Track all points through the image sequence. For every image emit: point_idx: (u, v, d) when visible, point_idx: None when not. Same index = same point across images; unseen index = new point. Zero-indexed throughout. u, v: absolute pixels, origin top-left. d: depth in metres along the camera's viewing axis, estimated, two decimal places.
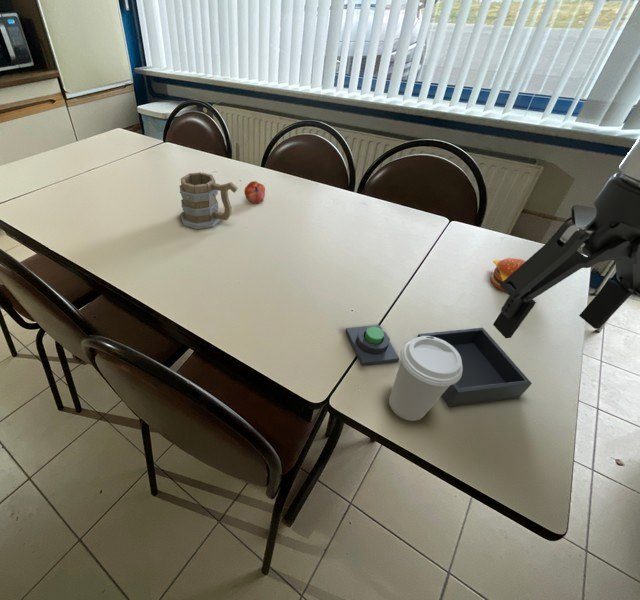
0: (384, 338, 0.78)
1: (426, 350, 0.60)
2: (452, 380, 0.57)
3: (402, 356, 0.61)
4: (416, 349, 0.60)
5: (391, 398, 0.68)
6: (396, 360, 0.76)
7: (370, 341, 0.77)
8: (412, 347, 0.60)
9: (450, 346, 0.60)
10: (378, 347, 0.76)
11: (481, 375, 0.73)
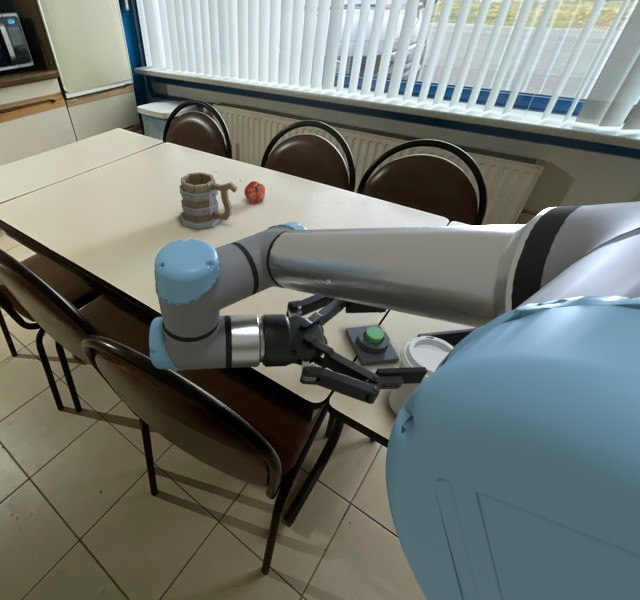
0: (384, 338, 0.78)
1: (426, 350, 0.60)
2: None
3: (402, 356, 0.61)
4: (416, 349, 0.60)
5: (391, 398, 0.68)
6: (396, 360, 0.76)
7: (370, 341, 0.77)
8: (412, 347, 0.60)
9: (450, 346, 0.60)
10: (378, 347, 0.76)
11: None
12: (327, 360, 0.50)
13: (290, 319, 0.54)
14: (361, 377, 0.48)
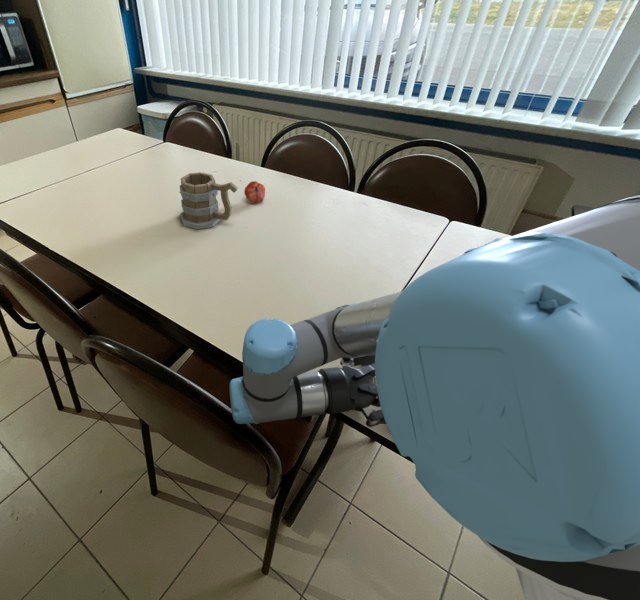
0: None
1: None
2: None
3: None
4: None
5: None
6: None
7: None
8: None
9: None
10: None
11: None
12: None
13: (342, 370, 0.64)
14: None
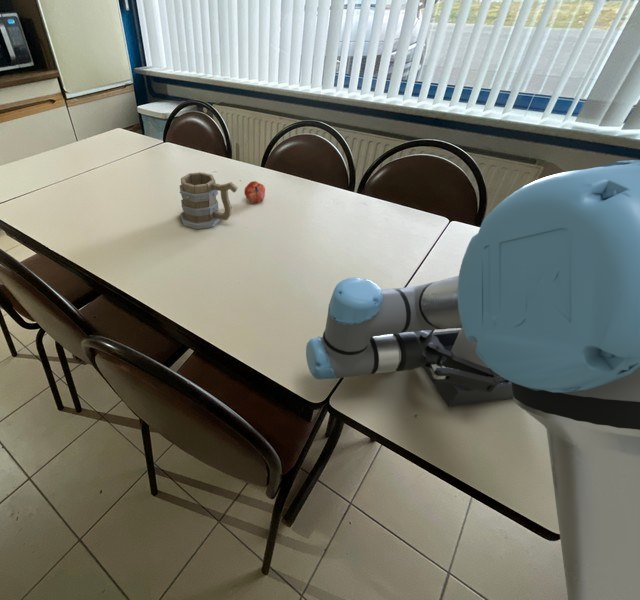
0: None
1: None
2: None
3: None
4: None
5: None
6: None
7: None
8: None
9: None
10: None
11: None
12: (449, 362, 0.65)
13: None
14: (480, 373, 0.63)
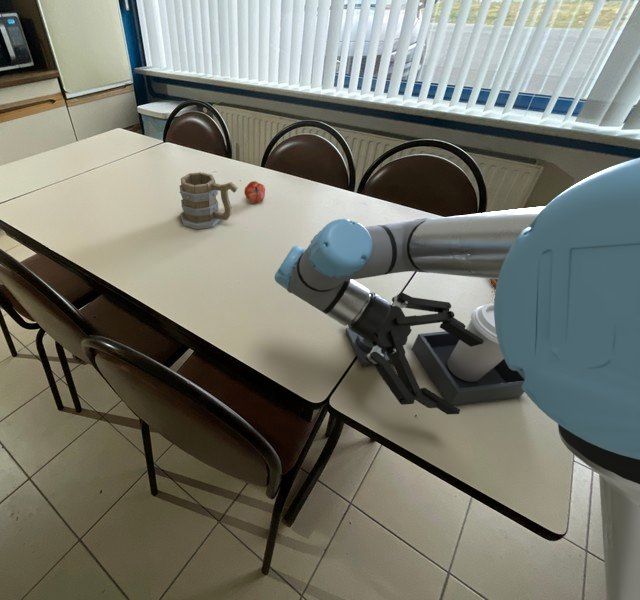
0: None
1: None
2: None
3: (474, 320, 0.65)
4: (488, 314, 0.65)
5: (451, 361, 0.73)
6: None
7: None
8: (484, 312, 0.65)
9: None
10: None
11: None
12: (395, 356, 0.61)
13: (392, 308, 0.63)
14: (408, 384, 0.59)
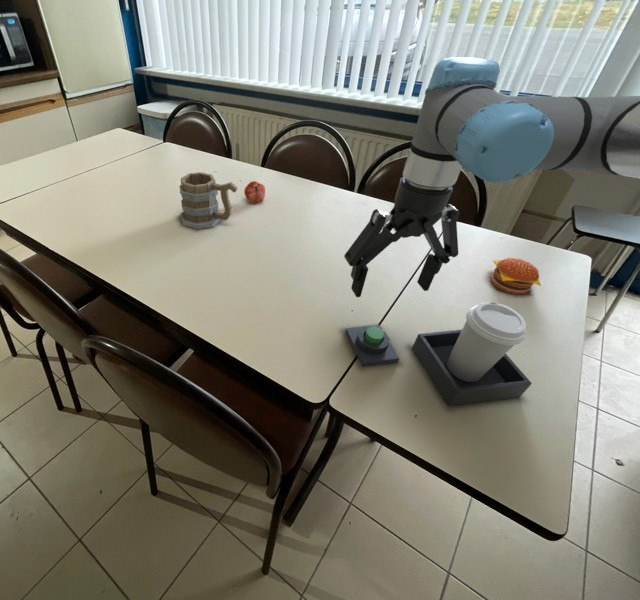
0: (384, 338, 0.78)
1: (492, 314, 0.65)
2: (518, 340, 0.62)
3: (469, 319, 0.66)
4: (483, 313, 0.65)
5: (450, 361, 0.73)
6: (396, 360, 0.76)
7: (370, 341, 0.77)
8: (479, 311, 0.66)
9: (513, 311, 0.66)
10: (378, 347, 0.76)
11: None
12: (387, 234, 0.60)
13: None
14: (364, 255, 0.62)
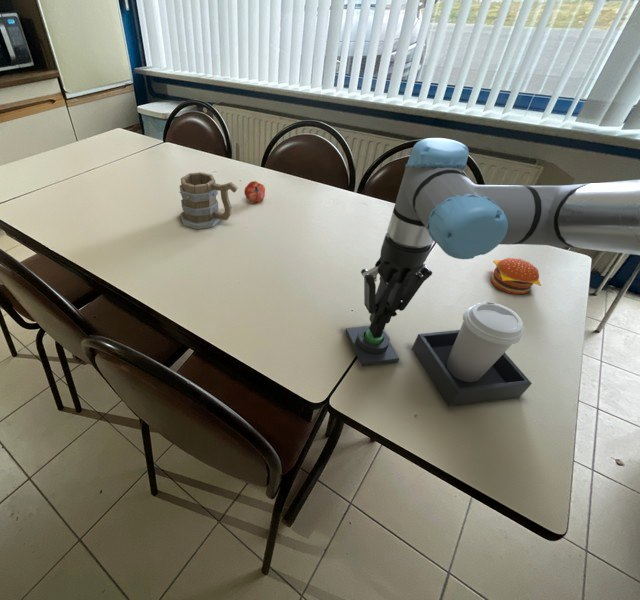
0: (384, 338, 0.78)
1: (488, 313, 0.66)
2: (515, 339, 0.62)
3: (466, 319, 0.66)
4: (479, 313, 0.66)
5: (449, 362, 0.74)
6: (396, 360, 0.76)
7: (369, 342, 0.77)
8: (475, 311, 0.66)
9: (510, 310, 0.66)
10: (378, 347, 0.76)
11: None
12: (383, 285, 0.68)
13: None
14: (377, 305, 0.71)
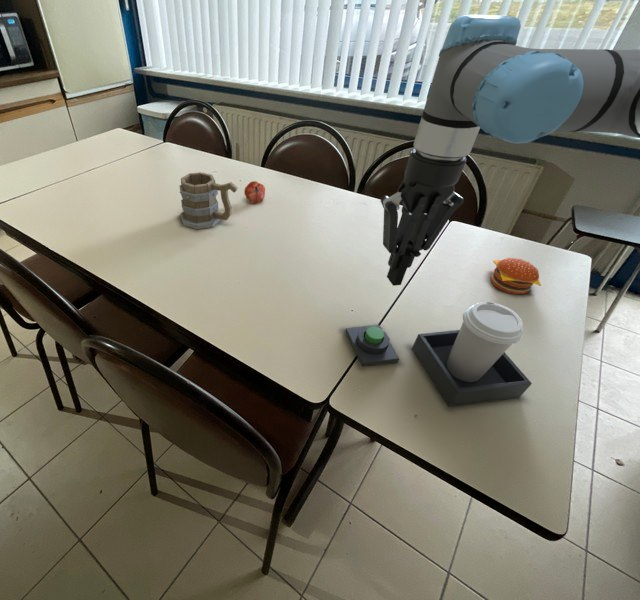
0: (384, 338, 0.78)
1: (488, 313, 0.66)
2: (514, 339, 0.62)
3: (465, 319, 0.66)
4: (479, 313, 0.66)
5: (449, 362, 0.74)
6: (396, 360, 0.76)
7: (370, 341, 0.77)
8: (475, 311, 0.66)
9: (510, 310, 0.66)
10: (378, 347, 0.76)
11: None
12: (406, 216, 0.59)
13: None
14: (398, 243, 0.62)
